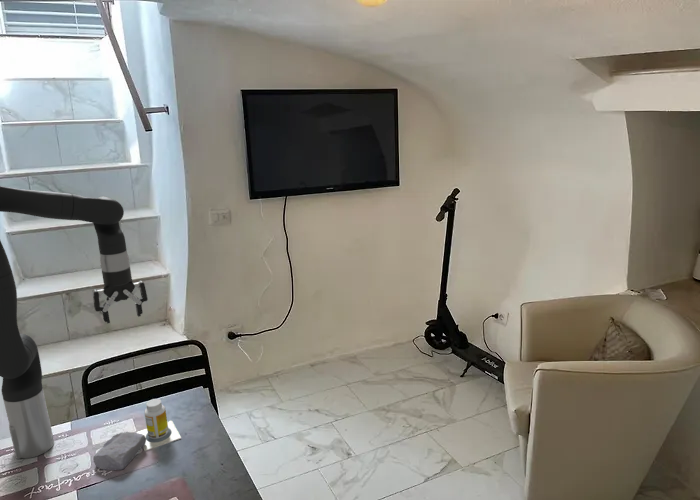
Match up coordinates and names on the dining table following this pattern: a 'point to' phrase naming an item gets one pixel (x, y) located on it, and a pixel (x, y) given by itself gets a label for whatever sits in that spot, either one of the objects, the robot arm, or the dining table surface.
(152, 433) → the supplement bottle
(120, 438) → the stone block
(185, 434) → the dining table surface
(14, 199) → the robot arm
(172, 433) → the cream square pad
